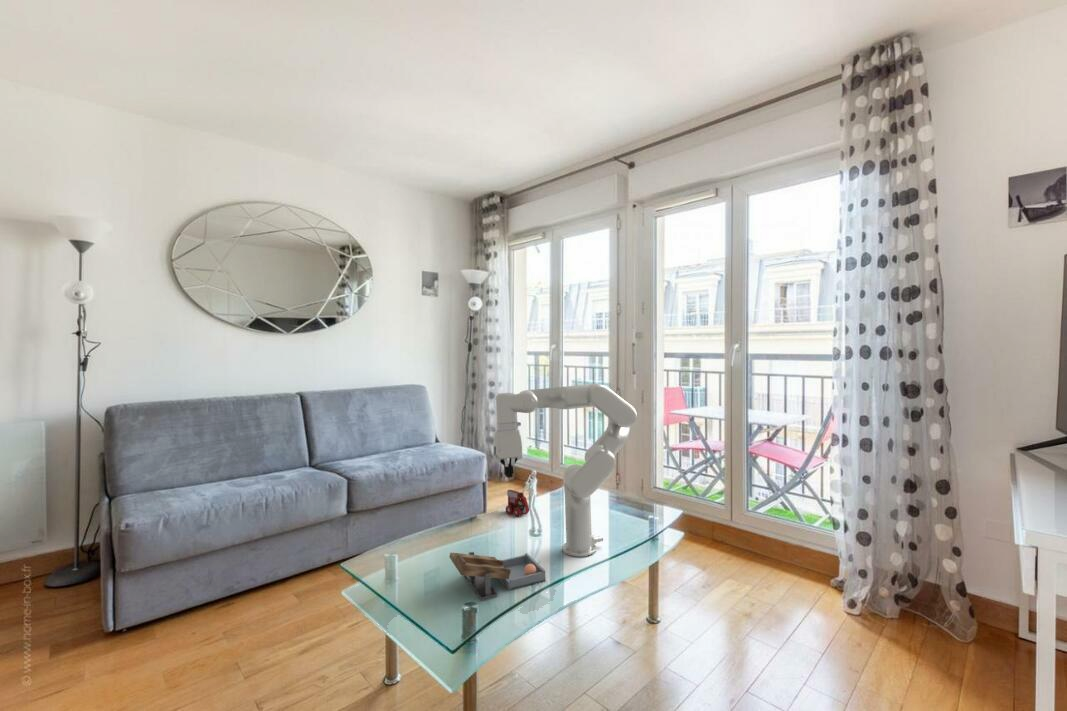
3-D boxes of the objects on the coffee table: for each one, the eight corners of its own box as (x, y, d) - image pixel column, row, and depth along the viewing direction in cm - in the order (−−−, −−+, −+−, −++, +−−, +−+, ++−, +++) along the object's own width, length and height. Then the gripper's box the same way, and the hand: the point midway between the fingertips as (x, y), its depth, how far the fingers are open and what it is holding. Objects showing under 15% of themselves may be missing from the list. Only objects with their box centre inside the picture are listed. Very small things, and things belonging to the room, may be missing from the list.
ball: (535, 564, 159) (525, 560, 157) (540, 568, 155) (530, 564, 154) (530, 575, 158) (520, 571, 156) (535, 580, 154) (525, 576, 153)
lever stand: (478, 571, 161) (477, 550, 161) (496, 597, 144) (495, 572, 144) (464, 575, 159) (463, 553, 159) (481, 601, 142) (480, 576, 142)
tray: (527, 562, 167) (526, 553, 167) (545, 581, 153) (545, 570, 153) (492, 570, 162) (492, 560, 162) (508, 590, 148) (508, 579, 148)
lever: (493, 561, 162) (495, 550, 162) (509, 579, 148) (511, 568, 149) (448, 556, 155) (451, 545, 156) (461, 575, 142) (464, 563, 142)
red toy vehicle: (522, 518, 211) (521, 495, 211) (503, 513, 220) (502, 490, 220) (532, 514, 216) (531, 492, 216) (513, 509, 225) (513, 487, 225)
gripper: (522, 423, 180) (523, 471, 180) (484, 427, 174) (486, 477, 174) (530, 426, 173) (531, 476, 173) (491, 430, 167) (493, 482, 167)
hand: (509, 476), depth 173 cm, fingers closed
